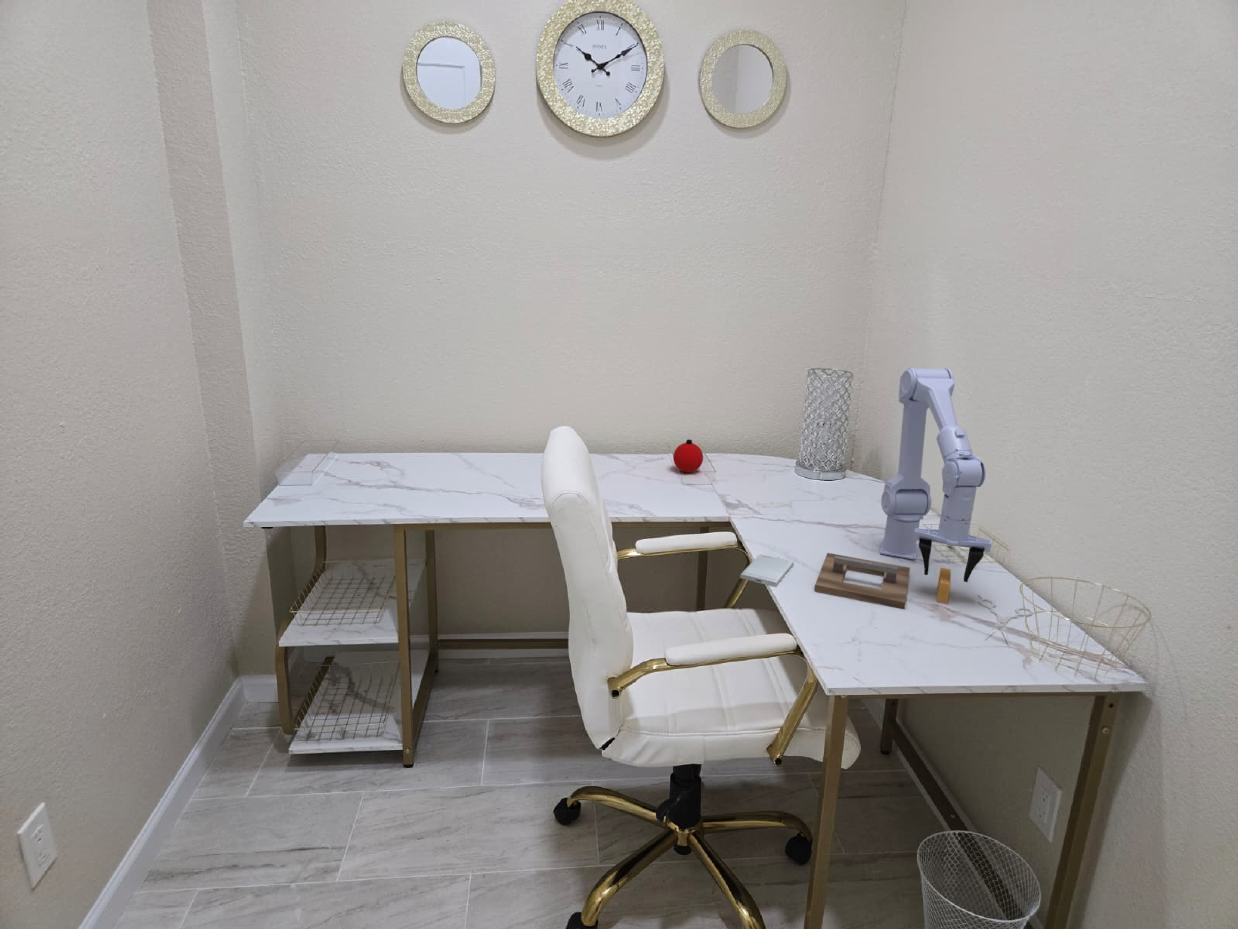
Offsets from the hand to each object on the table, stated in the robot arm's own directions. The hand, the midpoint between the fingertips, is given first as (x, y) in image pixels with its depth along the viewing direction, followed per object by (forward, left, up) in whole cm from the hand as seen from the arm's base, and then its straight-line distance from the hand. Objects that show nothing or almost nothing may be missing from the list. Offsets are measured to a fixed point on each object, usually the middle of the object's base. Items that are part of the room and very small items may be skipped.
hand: (945, 576), depth 165 cm
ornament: (-54, -73, -5) cm, 91 cm away
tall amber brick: (0, 0, -4) cm, 4 cm away
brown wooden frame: (+1, -16, -4) cm, 17 cm away
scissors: (+7, +11, -5) cm, 14 cm away
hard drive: (+5, -36, -5) cm, 37 cm away
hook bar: (+1, -16, -3) cm, 16 cm away
